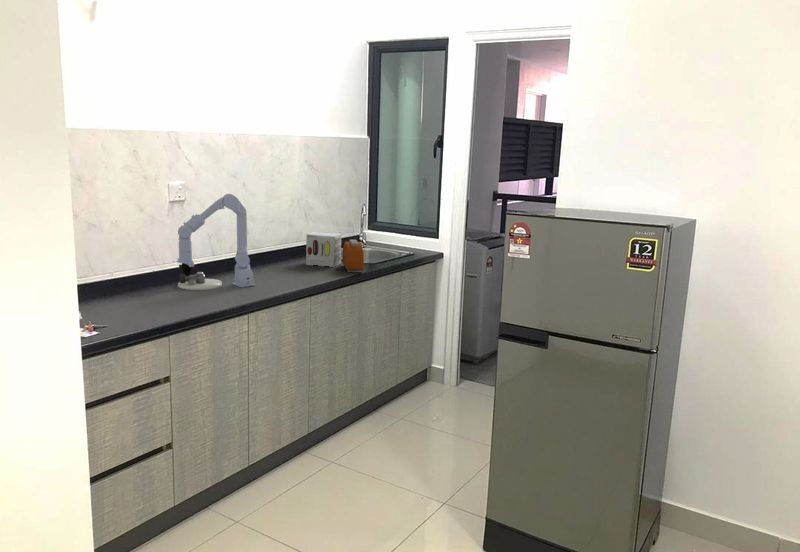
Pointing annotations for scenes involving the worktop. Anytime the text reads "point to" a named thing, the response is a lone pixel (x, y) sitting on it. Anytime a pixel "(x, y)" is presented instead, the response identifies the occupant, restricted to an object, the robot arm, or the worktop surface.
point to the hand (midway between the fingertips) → (186, 279)
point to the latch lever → (197, 278)
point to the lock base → (201, 285)
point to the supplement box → (323, 249)
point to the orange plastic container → (353, 256)
